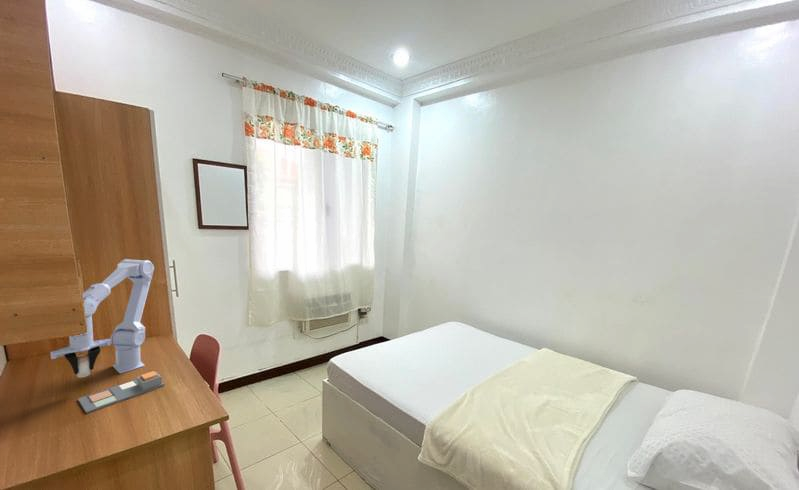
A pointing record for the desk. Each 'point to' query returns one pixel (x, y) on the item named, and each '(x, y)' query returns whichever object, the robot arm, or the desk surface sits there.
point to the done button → (148, 376)
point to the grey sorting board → (119, 393)
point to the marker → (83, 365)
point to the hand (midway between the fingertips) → (83, 370)
